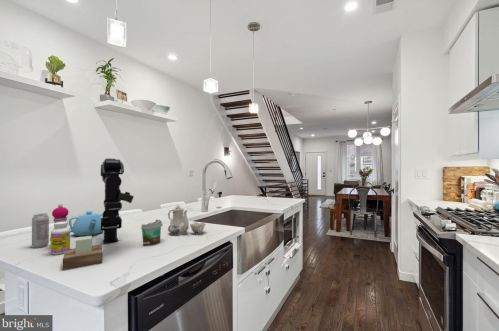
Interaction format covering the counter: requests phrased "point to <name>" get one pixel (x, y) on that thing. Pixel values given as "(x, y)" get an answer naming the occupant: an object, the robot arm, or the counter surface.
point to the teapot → (86, 224)
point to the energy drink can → (40, 230)
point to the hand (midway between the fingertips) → (112, 222)
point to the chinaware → (182, 223)
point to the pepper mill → (60, 214)
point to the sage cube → (83, 244)
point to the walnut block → (82, 258)
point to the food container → (151, 233)
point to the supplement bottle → (60, 238)
